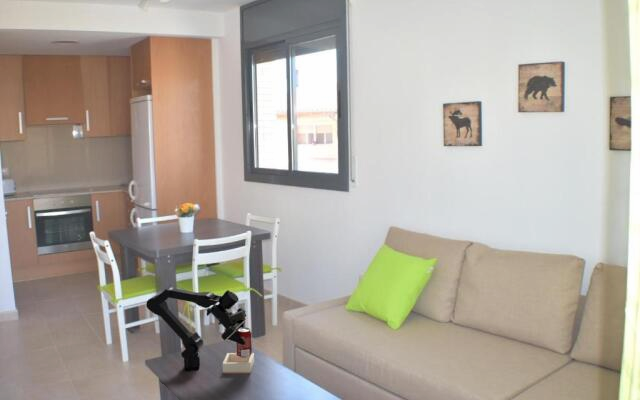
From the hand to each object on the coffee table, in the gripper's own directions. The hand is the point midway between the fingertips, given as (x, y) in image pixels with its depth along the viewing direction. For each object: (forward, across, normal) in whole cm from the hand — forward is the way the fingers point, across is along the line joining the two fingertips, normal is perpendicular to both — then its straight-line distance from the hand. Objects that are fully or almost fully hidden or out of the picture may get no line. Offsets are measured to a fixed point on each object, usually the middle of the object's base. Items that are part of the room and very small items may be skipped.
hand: (246, 341), depth 259 cm
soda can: (+4, 0, +6) cm, 7 cm away
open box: (+6, +3, +13) cm, 15 cm away
